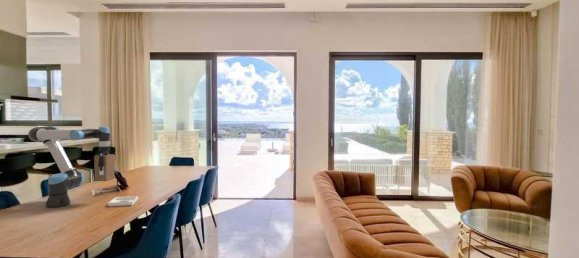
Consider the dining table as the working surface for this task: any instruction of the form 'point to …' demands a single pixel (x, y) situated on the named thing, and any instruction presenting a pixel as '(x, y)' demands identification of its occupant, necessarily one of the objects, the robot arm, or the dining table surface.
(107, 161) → the wooden block
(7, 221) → the dining table surface
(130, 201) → the dish
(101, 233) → the dining table surface
